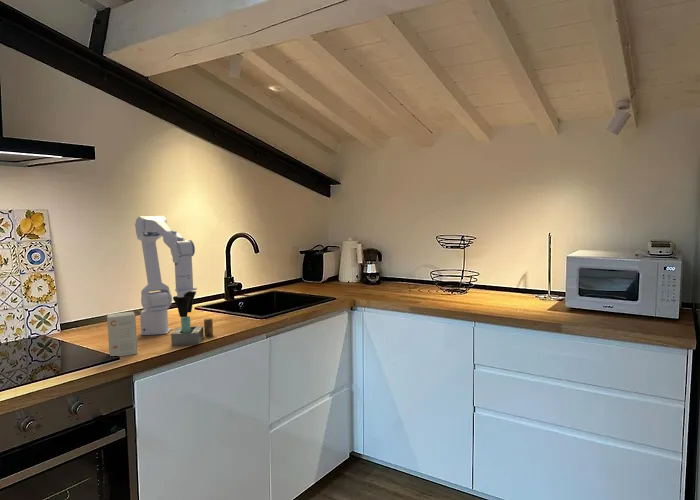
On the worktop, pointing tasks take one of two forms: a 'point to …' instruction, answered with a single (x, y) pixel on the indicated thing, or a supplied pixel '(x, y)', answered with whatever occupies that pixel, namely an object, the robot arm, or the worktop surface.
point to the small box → (122, 334)
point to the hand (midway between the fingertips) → (185, 314)
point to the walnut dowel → (208, 327)
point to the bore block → (187, 336)
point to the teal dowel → (185, 324)
